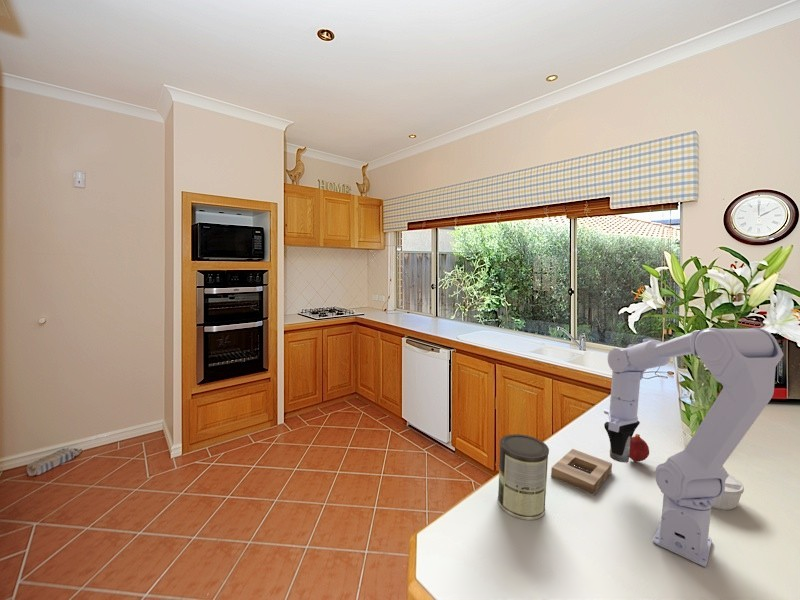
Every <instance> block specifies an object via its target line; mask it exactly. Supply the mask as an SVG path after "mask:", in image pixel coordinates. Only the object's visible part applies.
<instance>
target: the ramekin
mask: <svg viewBox="0 0 800 600" xmlns="http://www.w3.org/2000/svg"><path fill="white" fill-rule="evenodd" d="M728 474H729V473H728ZM744 490H745V487H744V484H743V483H742V481H740V480H739V479H737V478H736V477H735V476H733V475H731V474H729V476H728V477H727V479H726V481H725V491H724V493H723V495H722V496H720V497H717V498H715V504H712V506H711V508H714V509H716V510H717V509H718V510H725V511H726V510H733V509H735V508H736V507H738V505H739V502H740V499H741V497H742V495H743V493H744Z"/></svg>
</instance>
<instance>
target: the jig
mask: <svg viewBox="0 0 800 600" xmlns="http://www.w3.org/2000/svg"><path fill="white" fill-rule="evenodd" d="M574 465H575V466H574ZM576 466H577V468H576ZM579 467H580V468H579ZM578 468H579V469H578ZM581 468H582V470H581ZM612 468H613V463H612V462H611V461H607V460H604V459H601V458H598V457H597V456H593V455H591V454H588V453H585V452H582V451H580V450H577V449H574V448H572V449H570V450H569V451H568V452H567V453H566V454H565V455H564V456H563V457H562V458H560V459H559V460H558V461H557V462H556V463H555V464H553V465H552V467H551V473H550V477H552V478H554V479H556V480H557V481H558V480H559V481H561V482H563V483H565V484H568V485H569V486H571V487H573V488H577V489H579V490H580V491H583V492H586V493H588V494H590V495H592V496H593V495H595V494H596V492H597V491H598V490H599V489H600V487H601V486H602V485H603V484H604V482H605V481H606V480H607V479H608V477H609V476H610V475H611V473H612ZM586 470H587V471H586Z"/></svg>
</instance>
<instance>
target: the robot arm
mask: <svg viewBox="0 0 800 600" xmlns="http://www.w3.org/2000/svg"><path fill="white" fill-rule="evenodd" d="M777 341H778V340H777V339H776V338H775V336H774V335H773V334H772V333H770V332H769V330H765V329H763V328H759V327H750V328H749V327H748V328H717V327H707V328H704V329H698V330H693V331H692V332H689V333H687V334H684V335H681V336H677V337H674V338H672V339H669V340H666V341H661V340H658V339H654V338H643V339H642V342H641V343H637V344H636V343H630V344H628V345H627V347H625V348H620V347H613V349H610V350H609V352H608V354H607V364H608V366H609V368H610V370H612V375H611V386H610V387H611V388H610V398H609V399H610V401H609V408H604V410H603V413H604V415H605V414H606V415H607V416H608V420H609V421H606V422H604V424H603V425H604V430H605V431H606V433H607V436H608V439H609V444H610V445H611V450H612V453H614V454H617V455H620V456H622V455H623V452H624V449H625V445H626V442H627V439H628V437H629V436H631V438H630V442H631V439H632V437H634V436H633V435H634V433H635V432H636V430H637V428H638V426H639V425H640V424H641V422H640V421H639V417H638V411H639V410H638V409H639V399H640V388H641V387H640V385H641V381H642V379H643V377H644V373H645V372H646V371H647V370H649V369H654V368H659V367H664V366H666V365H668V363H669V362H670V361H671V359H672V358H675V357H682V356H688V355H693V356H698V357H699V359H700V360H701V362H702V363H703V364H704V365H705V367H706V368H707V370H708V371H709V372H710V373H711V375H712V376H713V378H714V379H715V380H716V382H718V384H719V383H720V384H721V385H722V389H721V391H720V392H719V394H718V395H717V397H716V399H715V400H714V402H713V403H712V405H711V407H710V408H709V410H708V412H707V413H706V414H705V417H703V419H702V421H701V423H700V424H699V426H698V427H697V429H696V430H695V432H694V434H693V435H692V437H691V438H690V440H689V442H688V444H687V445H686V446H685V448H684V449H683V450H681V451H679V452H677V453H675V454H673V455H671V456H669V457H668V458H667V460H666V461H665V462H663V463H660V464H658V465H657V466H656V468H655V470H654V478H655V479H654V480H655V482H656V485H657V486H658V488H659V490H660V492H661V493H662V494H663V497H662V500H663V501H662V509H661V518H660V523H659V525H658V527H657V530H656V532H655V534H654V535H653V539H652V543H654V544H655V545H657V546H659V547H662V548H663V549H666V550H668V551H670V552H672V553H674V554H676V555H679V556H680V557H683V558H685V559H687V560H689V561H691V562H693V563H695V564H697V565H700V566H702V567H704V568H705V567H707V566H708V561H709V556H710V552H711V548H712V543H713V541H712V540H713V539H712V538H710V537H709V535H710V534H709V532H710V526H711V525H710V524H711V513H712V507H711V506H712V504H715V498H717V497H720V496H722V495H723V493H724V491H725V481H726V479H727V477H728V476H729V472H727V470H726V468H725V467H724V464H725V463H726V462H727V460H728V459H729V458H730V456H731V455H732V454H733V452H734V451H735V449H736V448H737V446H739V444H740V442H741V441H742V440H743V438H744V437H745V435H746V434H747V433H748V432H749V430H750V429H751V427H752V426H753V425H754V423H755V422H756V420H757V419H758V418H759V416H760V415H761V414H762V412H763V411H764V409H765V408H766V407H767V406H768V403H769V402H770V401H771V399H772V398H773V396H774V393H775V381H776V380H775V379H776V367H777V365H778V364H779V362H780V361H781V360H782V358H783V357H784V352H783V351H782V348H781V346H780V344H779V343H778V342H777Z"/></svg>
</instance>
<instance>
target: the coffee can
mask: <svg viewBox="0 0 800 600" xmlns="http://www.w3.org/2000/svg"><path fill="white" fill-rule="evenodd" d="M549 453H550V448H549V446H548V445H547V444H546V443H545V442H544V441H542V440H540V439H538V438H537V437H533V436H530V435H525V434H519V433H518V434H514V433H513V434H507V435H505V436H503V437H501V438H500V439H499V470H498V472H499V473H498V492H497V494H498V495H497V504H498V505H499V507H500V508H501V510H503V511H504V512H505V513H506V514H508V515H509V516H512V517H514V518H516V519H520V520H524V521H525V520H526V521H532V520H537V519H540V518H542V517H543V516H544V515H545V513H546V495H547V481H548V480H547V479H548V478H547V477H548V464H549V463H548V461H549V460H548V459H549Z"/></svg>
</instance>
